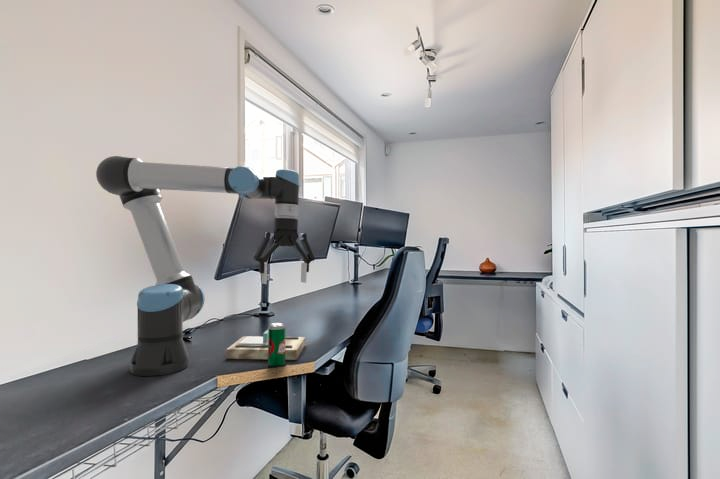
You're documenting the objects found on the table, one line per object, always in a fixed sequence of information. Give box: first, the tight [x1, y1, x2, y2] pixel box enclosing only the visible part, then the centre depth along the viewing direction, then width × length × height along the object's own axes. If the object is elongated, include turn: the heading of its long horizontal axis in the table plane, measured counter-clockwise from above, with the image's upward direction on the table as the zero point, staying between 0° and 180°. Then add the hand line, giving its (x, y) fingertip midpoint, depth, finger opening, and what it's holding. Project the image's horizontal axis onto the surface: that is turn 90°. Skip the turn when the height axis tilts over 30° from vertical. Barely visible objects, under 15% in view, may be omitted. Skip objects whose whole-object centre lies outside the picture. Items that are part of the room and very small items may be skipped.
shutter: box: [238, 329, 268, 345], centre depth 130 cm, size 9×9×4 cm
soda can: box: [267, 322, 287, 368], centre depth 117 cm, size 5×5×12 cm
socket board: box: [226, 335, 306, 361], centre depth 130 cm, size 22×16×4 cm
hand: (284, 283), depth 128 cm, fingers open, 13 cm apart
